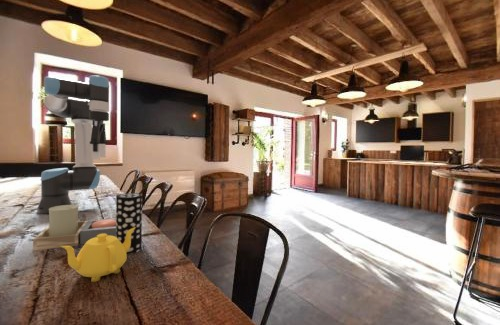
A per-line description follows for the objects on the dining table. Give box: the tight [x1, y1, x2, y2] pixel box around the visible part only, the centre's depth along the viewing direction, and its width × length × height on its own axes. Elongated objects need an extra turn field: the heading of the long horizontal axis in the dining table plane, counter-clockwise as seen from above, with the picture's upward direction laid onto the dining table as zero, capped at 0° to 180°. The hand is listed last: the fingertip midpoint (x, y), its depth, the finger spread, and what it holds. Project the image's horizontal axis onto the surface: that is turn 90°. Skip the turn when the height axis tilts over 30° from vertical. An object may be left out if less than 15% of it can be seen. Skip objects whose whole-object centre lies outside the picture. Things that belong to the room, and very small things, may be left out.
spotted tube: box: [115, 192, 143, 255], centre depth 85 cm, size 8×8×20 cm
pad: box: [92, 219, 116, 229], centre depth 98 cm, size 9×9×2 cm
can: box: [48, 204, 79, 237], centre depth 93 cm, size 9×9×12 cm
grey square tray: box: [79, 217, 116, 245], centre depth 98 cm, size 14×14×5 cm
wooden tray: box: [32, 220, 88, 251], centre depth 93 cm, size 18×13×4 cm
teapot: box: [60, 227, 136, 283], centre depth 70 cm, size 20×15×12 cm
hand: (99, 158), depth 108 cm, fingers open, 13 cm apart
